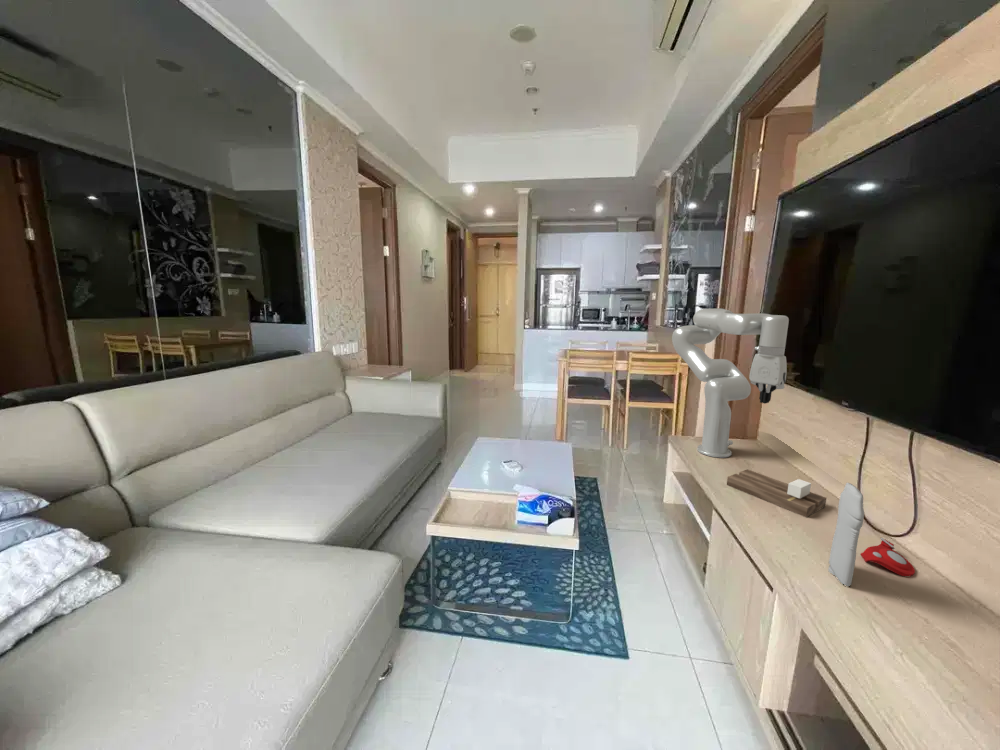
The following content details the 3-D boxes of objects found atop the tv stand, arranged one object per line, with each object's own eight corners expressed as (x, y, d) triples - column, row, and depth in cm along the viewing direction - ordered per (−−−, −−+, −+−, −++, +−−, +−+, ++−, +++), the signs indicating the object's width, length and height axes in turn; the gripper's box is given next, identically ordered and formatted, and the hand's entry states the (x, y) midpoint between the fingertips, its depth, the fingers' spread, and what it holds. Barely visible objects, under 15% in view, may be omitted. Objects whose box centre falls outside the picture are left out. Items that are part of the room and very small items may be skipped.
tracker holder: (929, 576, 93) (883, 563, 94) (916, 588, 95) (871, 575, 96) (894, 536, 104) (853, 524, 105) (883, 547, 106) (843, 536, 107)
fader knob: (796, 494, 129) (798, 478, 128) (808, 499, 126) (811, 483, 125) (786, 499, 126) (788, 483, 125) (798, 504, 123) (801, 487, 122)
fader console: (746, 477, 145) (747, 469, 145) (825, 506, 125) (826, 497, 124) (726, 484, 139) (727, 476, 139) (806, 517, 119) (807, 507, 118)
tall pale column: (821, 558, 101) (835, 476, 96) (841, 562, 99) (856, 479, 95) (836, 585, 91) (852, 496, 87) (859, 590, 90) (877, 500, 85)
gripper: (743, 349, 144) (737, 399, 147) (789, 355, 131) (781, 409, 135) (754, 348, 147) (748, 396, 151) (801, 353, 135) (793, 406, 138)
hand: (764, 402), depth 143 cm, fingers closed
